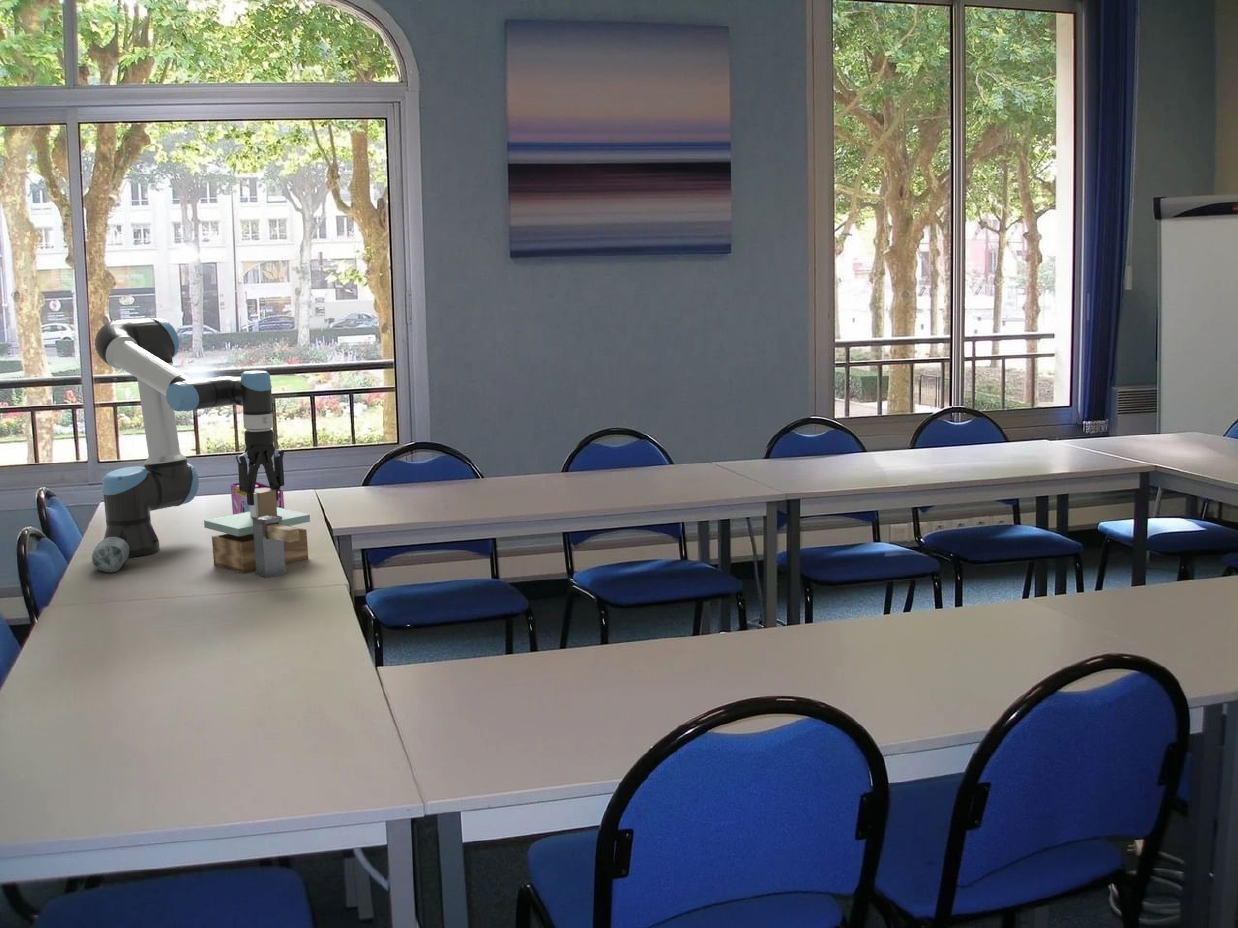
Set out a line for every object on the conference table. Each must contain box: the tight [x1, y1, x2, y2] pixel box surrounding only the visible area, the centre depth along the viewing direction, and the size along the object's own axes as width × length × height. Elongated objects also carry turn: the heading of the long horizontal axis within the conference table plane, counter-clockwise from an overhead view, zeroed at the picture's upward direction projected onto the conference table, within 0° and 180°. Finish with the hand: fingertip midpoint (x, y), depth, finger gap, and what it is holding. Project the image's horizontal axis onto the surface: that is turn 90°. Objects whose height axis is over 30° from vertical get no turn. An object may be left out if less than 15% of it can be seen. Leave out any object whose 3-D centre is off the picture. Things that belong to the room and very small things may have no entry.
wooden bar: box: [265, 523, 300, 542], centre depth 314 cm, size 15×3×3 cm, turn 50°
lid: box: [203, 488, 311, 536], centre depth 330 cm, size 16×22×9 cm
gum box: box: [230, 481, 286, 515], centre depth 369 cm, size 24×8×14 cm, turn 38°
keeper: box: [253, 515, 286, 579], centre depth 317 cm, size 4×6×15 cm, turn 140°
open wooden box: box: [211, 525, 309, 574], centre depth 332 cm, size 14×20×8 cm
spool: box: [91, 537, 130, 573], centre depth 328 cm, size 14×10×10 cm
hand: (263, 514), depth 332 cm, fingers closed on lid, 5 cm apart
